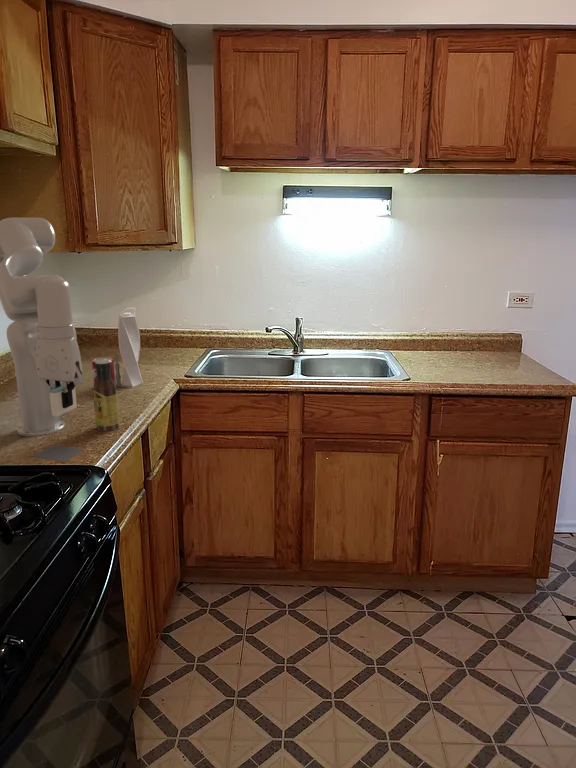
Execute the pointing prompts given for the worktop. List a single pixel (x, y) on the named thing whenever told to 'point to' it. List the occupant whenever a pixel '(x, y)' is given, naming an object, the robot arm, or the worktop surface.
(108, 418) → the sauce bottle
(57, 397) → the cream tile
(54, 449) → the rubber mat
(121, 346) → the skyscraper
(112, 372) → the soda can
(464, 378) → the worktop surface
